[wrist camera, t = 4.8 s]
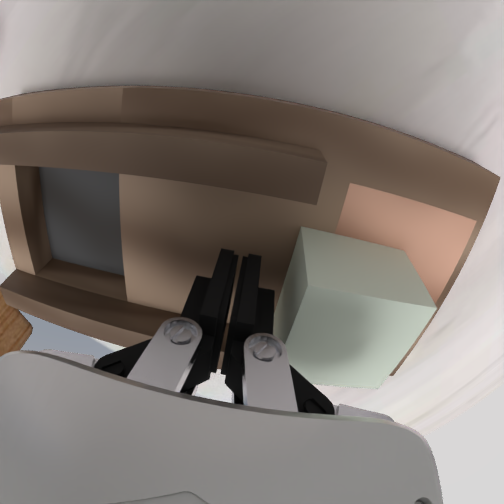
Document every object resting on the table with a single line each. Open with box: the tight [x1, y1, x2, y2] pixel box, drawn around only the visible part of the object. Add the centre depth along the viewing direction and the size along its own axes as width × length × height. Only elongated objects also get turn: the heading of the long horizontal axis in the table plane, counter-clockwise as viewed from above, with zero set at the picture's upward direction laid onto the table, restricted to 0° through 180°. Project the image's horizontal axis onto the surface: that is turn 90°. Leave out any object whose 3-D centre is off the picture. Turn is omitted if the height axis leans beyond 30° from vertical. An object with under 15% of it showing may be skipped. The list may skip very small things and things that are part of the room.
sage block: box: [273, 226, 437, 389], centre depth 12 cm, size 5×5×4 cm
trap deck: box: [0, 86, 500, 376], centre depth 14 cm, size 14×26×4 cm, turn 81°
